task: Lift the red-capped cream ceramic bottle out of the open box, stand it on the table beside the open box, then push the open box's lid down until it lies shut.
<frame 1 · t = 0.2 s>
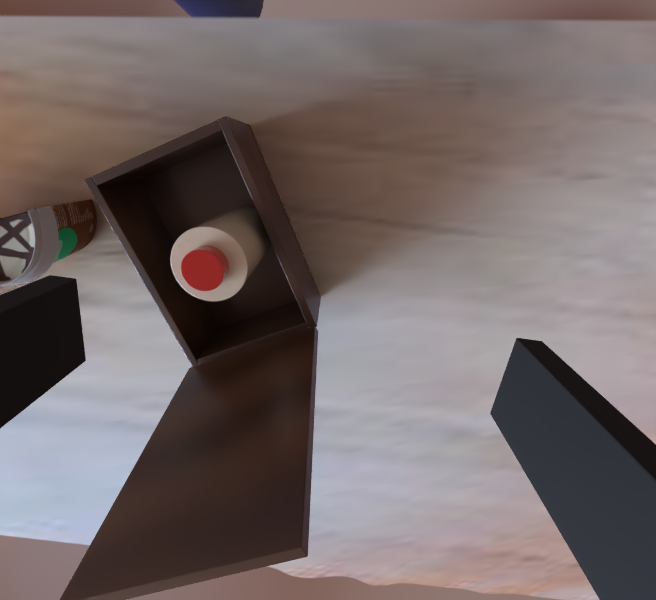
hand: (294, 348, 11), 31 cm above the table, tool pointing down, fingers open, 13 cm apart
lid: (226, 427, 27), point 19 cm above the table, hinge at 95.0°
food container: (67, 235, 42), on the table
open box: (232, 239, 42), on the table
bottle: (246, 234, 40), point 1 cm above the table, touching open box
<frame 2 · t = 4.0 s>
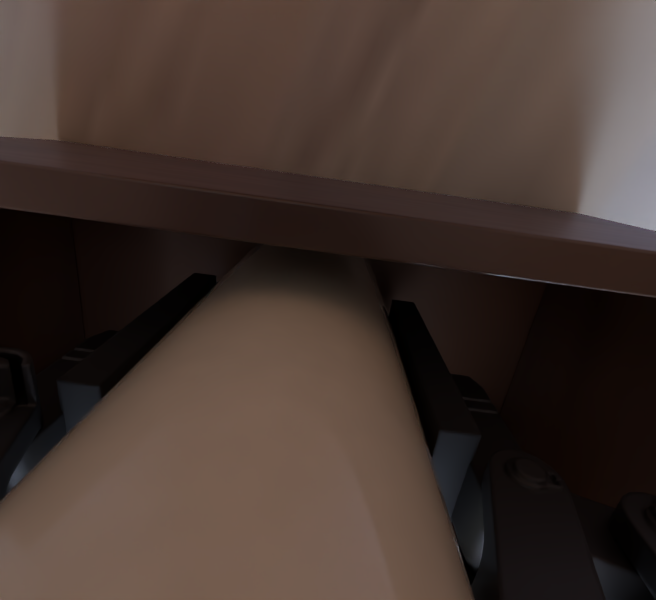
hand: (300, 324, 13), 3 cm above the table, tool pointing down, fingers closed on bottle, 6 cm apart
open box: (302, 339, 16), on the table
bottle: (305, 304, 15), point 1 cm above the table, touching open box, gripper
when the fingers open (2 cm above the table, at t = 12.2 s): bottle stays where it is, on the table.
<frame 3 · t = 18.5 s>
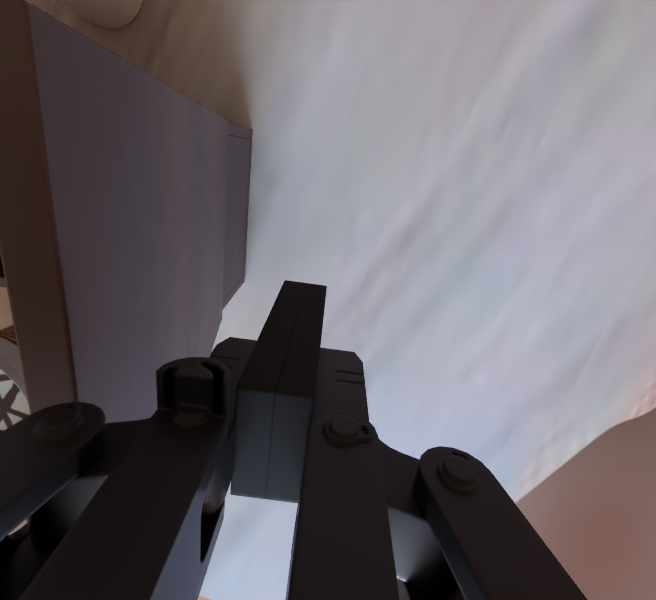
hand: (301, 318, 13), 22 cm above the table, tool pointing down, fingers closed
lid: (185, 274, 16), point 19 cm above the table, hinge at 98.9°, touching gripper
food container: (83, 354, 40), on the table
open box: (139, 196, 34), on the table
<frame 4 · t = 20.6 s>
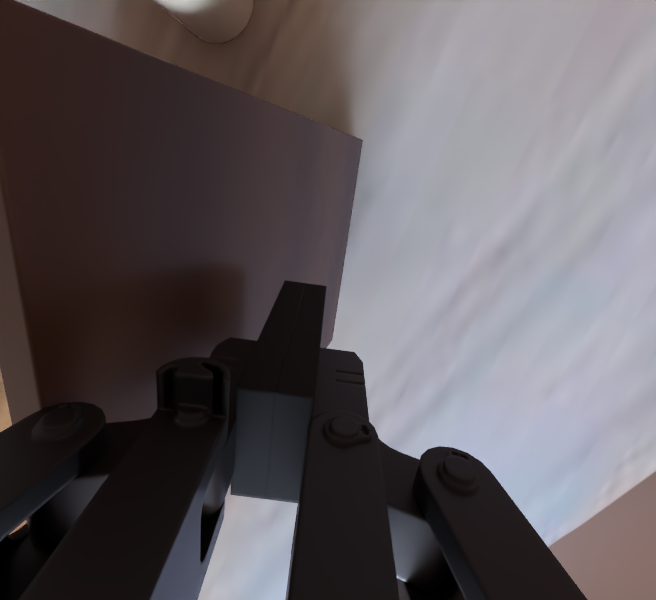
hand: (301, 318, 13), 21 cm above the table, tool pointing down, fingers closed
lid: (277, 292, 16), point 19 cm above the table, hinge at 74.8°, touching gripper
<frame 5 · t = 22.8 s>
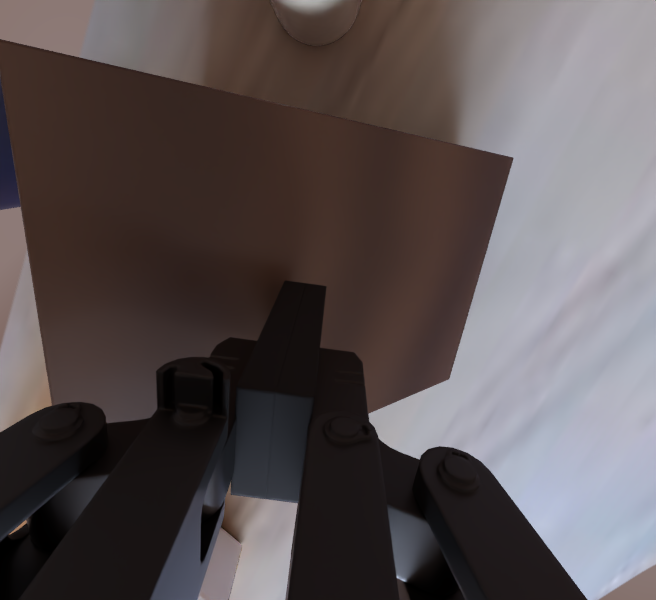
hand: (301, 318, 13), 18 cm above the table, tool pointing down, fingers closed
lid: (341, 299, 16), point 15 cm above the table, hinge at 39.5°, touching gripper
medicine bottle: (201, 537, 43), on the table
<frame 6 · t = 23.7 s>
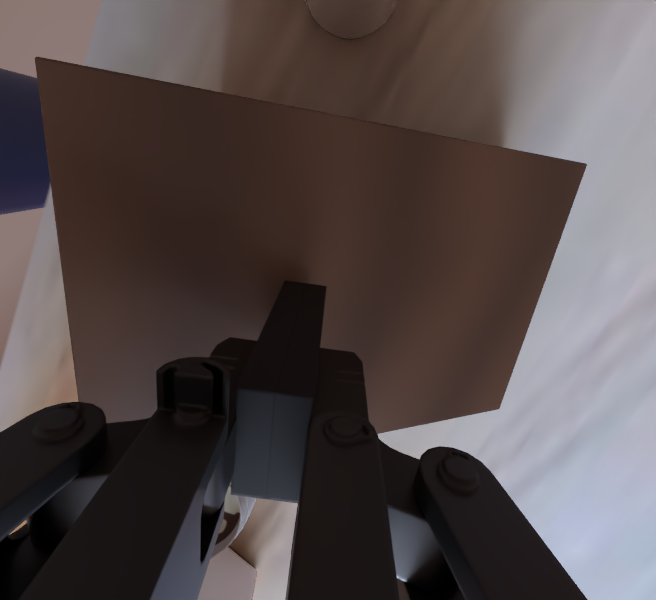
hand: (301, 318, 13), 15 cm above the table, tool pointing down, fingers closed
lid: (363, 305, 16), point 13 cm above the table, hinge at 24.8°, touching gripper
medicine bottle: (214, 563, 41), on the table
food container: (241, 417, 34), on the table
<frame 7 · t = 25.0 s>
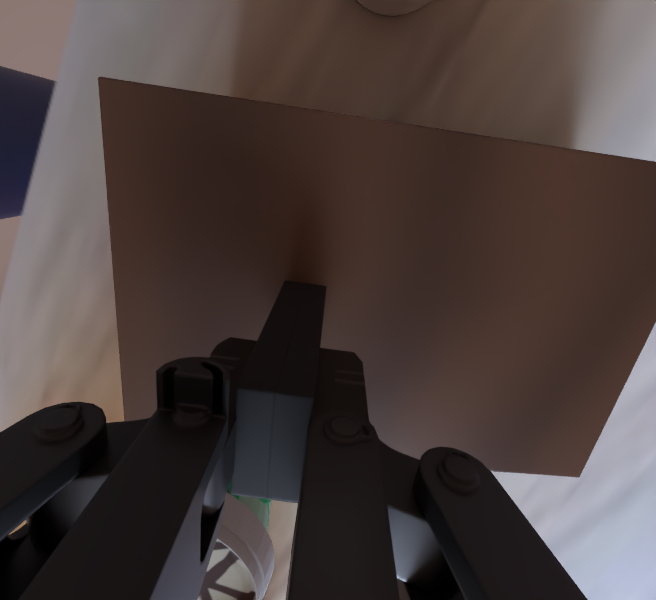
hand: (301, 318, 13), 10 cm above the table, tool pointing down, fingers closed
lid: (393, 320, 14), point 9 cm above the table, hinge at 4.1°
food container: (251, 459, 30), on the table
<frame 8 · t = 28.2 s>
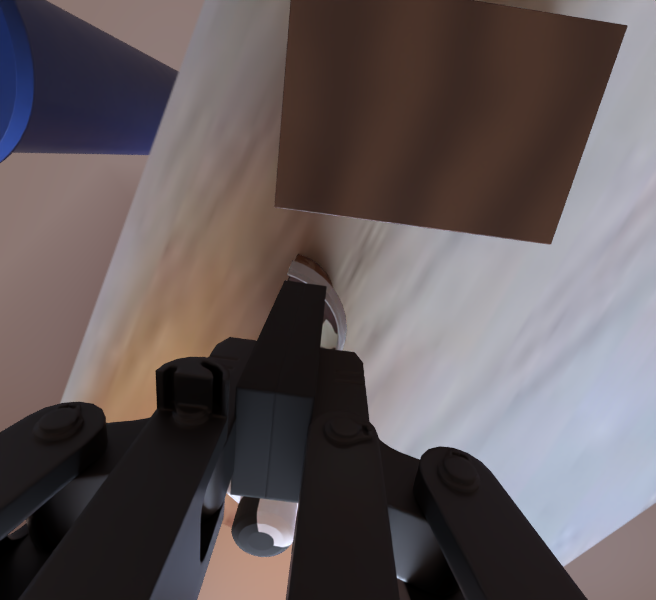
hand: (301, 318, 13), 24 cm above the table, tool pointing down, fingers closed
lid: (435, 124, 25), point 9 cm above the table, hinge at 1.6°
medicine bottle: (280, 447, 47), on the table
food container: (315, 302, 40), on the table
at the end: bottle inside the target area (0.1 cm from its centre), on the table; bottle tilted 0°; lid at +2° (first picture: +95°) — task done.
